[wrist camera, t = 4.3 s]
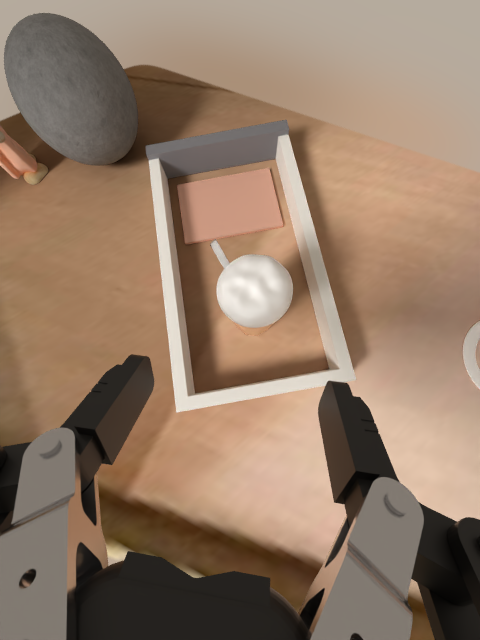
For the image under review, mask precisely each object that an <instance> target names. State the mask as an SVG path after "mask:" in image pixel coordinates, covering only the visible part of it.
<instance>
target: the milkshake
mask: <svg viewBox="0 0 480 640" xmlns="http://www.w3.org/2000/svg"><path fill="white" fill-rule="evenodd" d="M210 246H211V248H212V249H213V251H214V253H215V254H216V256H217V257H218V259H219V261H220V262H221V264H222V266H223V267H224V270H223V272H222V273H221V275H220V277H219V279H218V283H217V299H218V303H219V305H220V307H221V309H222V311H223V312H224V313H225V315H226V316H227V317H228V318H229V319H230V320H231V321H232V322H233V323H234V324H235V325H236V326H237V328H239V329H240V330H241V331H242V332H243V333H244V334H245V335H251V336H258V335H259V334H261V333H263V332H265V331H267V330H268V329H269V328H270V327H271V326H272V325H273V324H274V323H275V322H276V321H277V320H279V319H280V318H281V317H282V316H283V315H284V314H285V313H286V311H287V310H288V308H289V306H290V304H291V301H292V296H293V283H292V279H291V276H290V274H289V272H288V271H287V270H286V269H285V268H284V267H283V266H282V265H281V264H280V263H279V262H278V261H277V260H275V259H274V258H272V257H270V256H266V255H256V254H248V255H244V256H241V257H239V258H237V259H235V260H234V261H232V262H231V263H229V261H228V260H227V258H226V256H225V254H224V252H223V251H222V249H221V247H220V245H219V244H218V242H217V240H216V239H215V240H214V241H212V242H211V244H210Z"/></svg>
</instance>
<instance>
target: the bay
mask: <svg viewBox="0 0 480 640" xmlns="http://www.w3.org/2000/svg"><path fill="white" fill-rule="evenodd" d="M288 134H289V127H288V123H287V120H282V121H277V122H271V123H266V124H260V125H255V126H249V127H244V128H239V129H233V130H228V131H222V132H217V133H212V134H206V135H201V136H195V137H190V138H185V139H179V140H174V141H168V142H163V143H158V144H152V145H147V146H146V155H147V158H148V160H149V167H150V176H151V185H152V194H153V203H154V213H155V222H156V231H157V240H158V249H159V258H160V267H161V276H162V285H163V294H164V303H165V312H166V322H167V331H168V340H169V349H170V358H171V367H172V376H173V385H174V394H175V403H176V412H182V411H187V410H193V409H198V408H204V407H209V406H215V405H220V404H226V403H231V402H237V401H243V400H248V399H254V398H259V397H265V396H270V395H276V394H281V393H287V392H292V391H298V390H303V389H309V388H315V387H320V386H326V384H327V382H328V381H337V382H348V381H353V380H356V377H355V373H354V370H353V366H352V363H351V359H350V355H349V352H348V348H347V344H346V341H345V337H344V334H343V330H342V326H341V323H340V319H339V316H338V312H337V308H336V305H335V301H334V297H333V294H332V290H331V287H330V283H329V279H328V276H327V272H326V269H325V265H324V261H323V258H322V254H321V250H320V247H319V243H318V240H317V236H316V232H315V229H314V225H313V222H312V218H311V214H310V211H309V207H308V204H307V200H306V196H305V193H304V189H303V185H302V182H301V178H300V175H299V171H298V167H297V164H296V160H295V157H294V153H293V149H292V146H291V142H290V138H289V135H288ZM271 159H276V162H277V166H278V170H279V174H280V178H281V182H282V185H283V189H284V193H285V197H286V201H287V205H288V209H289V213H290V217H291V221H292V225H293V229H294V233H295V237H296V240H297V244H298V248H299V252H300V256H301V260H302V264H303V268H304V272H305V276H306V280H307V284H308V288H309V292H310V295H311V299H312V303H313V307H314V311H315V315H316V319H317V323H318V327H319V331H320V335H321V339H322V343H323V347H324V350H325V354H326V358H327V362H328V366H329V369H328V370H323V371H317V372H312V373H306V374H301V375H295V376H290V377H284V378H279V379H273V380H268V381H262V382H257V383H251V384H245V385H240V386H234V387H229V388H223V389H218V390H212V391H207V392H201V393H196V394H195V389H194V381H193V374H192V366H191V358H190V350H189V342H188V335H187V327H186V319H185V311H184V304H183V296H182V288H181V280H180V273H179V265H178V257H177V249H176V241H175V234H174V226H173V218H172V210H171V203H170V195H169V187H168V178H174V177H179V176H185V175H190V174H195V173H201V172H206V171H212V170H217V169H223V168H228V167H233V166H239V165H244V164H250V163H255V162H261V161H266V160H271ZM177 189H178V196H179V203H180V210H181V218H182V225H183V232H184V239H185V244H186V245H188V244H193V243H199V242H204V241H209V240H215V239H220V238H226V237H231V236H237V235H242V234H248V233H253V232H259V231H264V230H269V229H275V228H280V227H283V222H282V218H281V214H280V210H279V206H278V201H277V197H276V193H275V189H274V185H273V181H272V177H271V173H270V169H269V168H266V169H260V170H255V171H249V172H244V173H239V174H233V175H228V176H222V177H217V178H211V179H206V180H201V181H195V182H190V183H184V184H179V185H177Z"/></svg>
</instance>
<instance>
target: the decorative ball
mask: <svg viewBox="0 0 480 640" xmlns="http://www.w3.org/2000/svg"><path fill="white" fill-rule="evenodd" d="M4 66H5V74H6V78H7V82H8V86H9V89H10V91H11V94H12V97H13V99H14V101H15V103H16V105H17V107H18V109H19V111H20V112H21V114H22V115H23V117H24V118H25V120H26V121H27V123H28V124H29V125H30V127H31V128H32V129H33V130H34V131H35V132H36V134H37V135H38V136H39V137H40V138H41V139H42V140H43V141H45V142H46V143H47V144H48V145H49V146H51V147H52V148H53V149H54V150H56V151H57V152H59V153H60V154H62V155H64V156H66V157H68V158H70V159H72V160H75V161H77V162H80V163H83V164H88V165H107V164H111V163H114V162H116V161H118V160H120V159H121V158H123V157H124V156H125V155H126V154H127V153H128V152H129V150H130V149H131V147H132V145H133V143H134V141H135V138H136V134H137V129H138V109H137V103H136V99H135V95H134V92H133V89H132V86H131V84H130V81H129V79H128V77H127V75H126V73H125V71H124V70H123V68H122V66H121V64H120V63H119V61H118V60H117V59H116V57H115V56H114V54H113V53H112V52H111V51H110V50H109V49H108V47H107V46H106V45H105V44H104V43H103V42H102V41H101V40H100V39H99V38H98V37H97V36H96V35H94V34H93V33H92V32H91V31H89V30H88V29H87V28H85V27H84V26H82V25H80V24H79V23H77V22H75V21H73V20H71V19H69V18H66V17H63V16H60V15H56V14H50V13H39V14H34V15H30V16H27V17H26V18H24V19H22V20H21V21H19V22H18V23H17V24H16V25H15V26H14V27H13V29H12V31H11V32H10V34H9V36H8V38H7V41H6V45H5V52H4Z"/></svg>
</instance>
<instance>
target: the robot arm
mask: <svg viewBox="0 0 480 640" xmlns="http://www.w3.org/2000/svg"><path fill="white" fill-rule="evenodd" d="M153 387H154V377H153V372H152V367H151V362H150V358H149V357H147V356H139V355H130V356H129V357H128V358H127V359H126V360H125V362H124V363H123V364H122V365H116V366H114V367H113V368H112V369H110V370H109V371H107V372H106V373H105V374H104V375H103V377H102V378H101V379H100V380H99V381H98V384H96V385H95V386H94V388H93V389H92V390H91V392H89V394H88V395H87V396H86V397H85V398H84V400H83V401H82V402H81V403H80V404H79V406H78V407H77V408H76V409H75V411H74V412H73V413H72V414H71V415H70V417H69V418H68V419H67V420H66V421H65V423H64V424H63V425H62V426H61V427H60V428H56V429H52V430H50V431H47V432H45V433H43V434H42V435H40V436H39V437H37V438H36V439H35V440H34V441H33V442H29V443H23V444H17V445H11V446H5V447H1V446H0V640H409V638H410V634H411V628H412V610H411V607H410V606H409V604H408V601H407V596H408V590H409V586H410V581H411V579H413V580H414V581H416V582H417V583H418V586H419V589H420V593H421V596H422V599H423V602H424V606H425V609H426V612H427V615H428V619H429V622H430V625H431V628H432V632H433V635H434V638H435V640H480V520H479V519H475V518H470V517H468V518H463V519H461V520H460V521H458V522H456V521H454V520H452V519H450V518H448V517H446V516H444V515H442V514H440V513H438V512H436V511H434V510H432V509H430V508H428V507H426V506H424V505H422V504H421V503H419V502H418V501H417V499H416V498H415V496H414V495H413V494H412V493H411V492H410V491H409V490H408V489H407V488H406V487H405V486H404V485H403V484H401V483H400V482H399V480H398V478H397V476H396V474H395V472H394V469H393V467H392V464H391V462H390V459H389V457H388V454H387V452H386V449H385V447H384V444H383V442H382V439H381V437H380V434H378V429H377V427H376V424H375V423H374V419H373V417H372V414H371V412H370V409H369V408H368V406H367V405H366V404H365V403H364V402H363V400H362V399H361V398H360V397H354V396H353V395H352V392H351V390H350V387H349V385H348V383H344V382H337V381H328V382H327V384H326V386H325V389H324V392H323V394H322V397H321V400H320V402H319V407H318V416H319V422H320V427H321V433H322V438H323V444H324V449H325V455H326V460H327V466H328V471H329V477H330V482H331V488H332V493H333V498H334V503H340V504H345V509H346V514H347V515H346V517H345V519H344V521H343V523H342V525H341V527H340V530H339V532H338V534H337V536H336V538H335V540H334V542H333V545H332V547H331V549H330V551H329V553H328V555H327V557H326V559H325V562H324V564H323V566H322V568H321V570H320V572H319V573H318V575H317V577H316V578H315V580H314V582H313V583H312V585H311V587H310V589H309V591H308V593H307V595H306V597H305V599H304V601H303V604H302V606H301V608H300V610H299V612H298V613H297V612H296V610H295V609H294V608H293V607H292V605H291V604H290V603H289V602H288V601H287V600H286V599H285V598H284V597H283V596H282V595H280V594H279V593H278V592H277V591H275V590H274V589H272V588H271V587H270V578H267V577H262V576H257V575H251V574H246V573H241V572H235V571H233V572H227V573H222V574H217V575H212V576H207V577H201V578H193V577H191V576H190V575H188V574H186V573H185V572H183V571H182V570H180V569H179V568H177V567H176V566H174V565H172V564H171V563H169V562H168V561H166V560H165V559H163V558H161V557H156V556H151V555H145V554H140V553H135V552H129V551H128V552H127V555H126V557H125V560H124V561H120V562H117V563H115V564H112V565H110V566H108V558H107V549H106V544H105V540H104V537H103V533H102V529H101V519H100V506H99V493H98V480H97V473H96V472H97V471H98V469H99V467H100V466H101V464H102V463H103V464H109V465H112V464H113V463H114V461H115V459H116V457H117V455H118V453H119V452H120V450H121V448H122V446H123V444H124V442H125V441H126V439H127V437H128V435H129V433H130V431H131V430H132V428H133V426H134V424H135V422H136V420H137V419H138V417H139V415H140V413H141V411H142V409H143V408H144V406H145V404H146V402H147V400H148V398H149V397H150V395H151V393H152V390H153Z"/></svg>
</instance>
